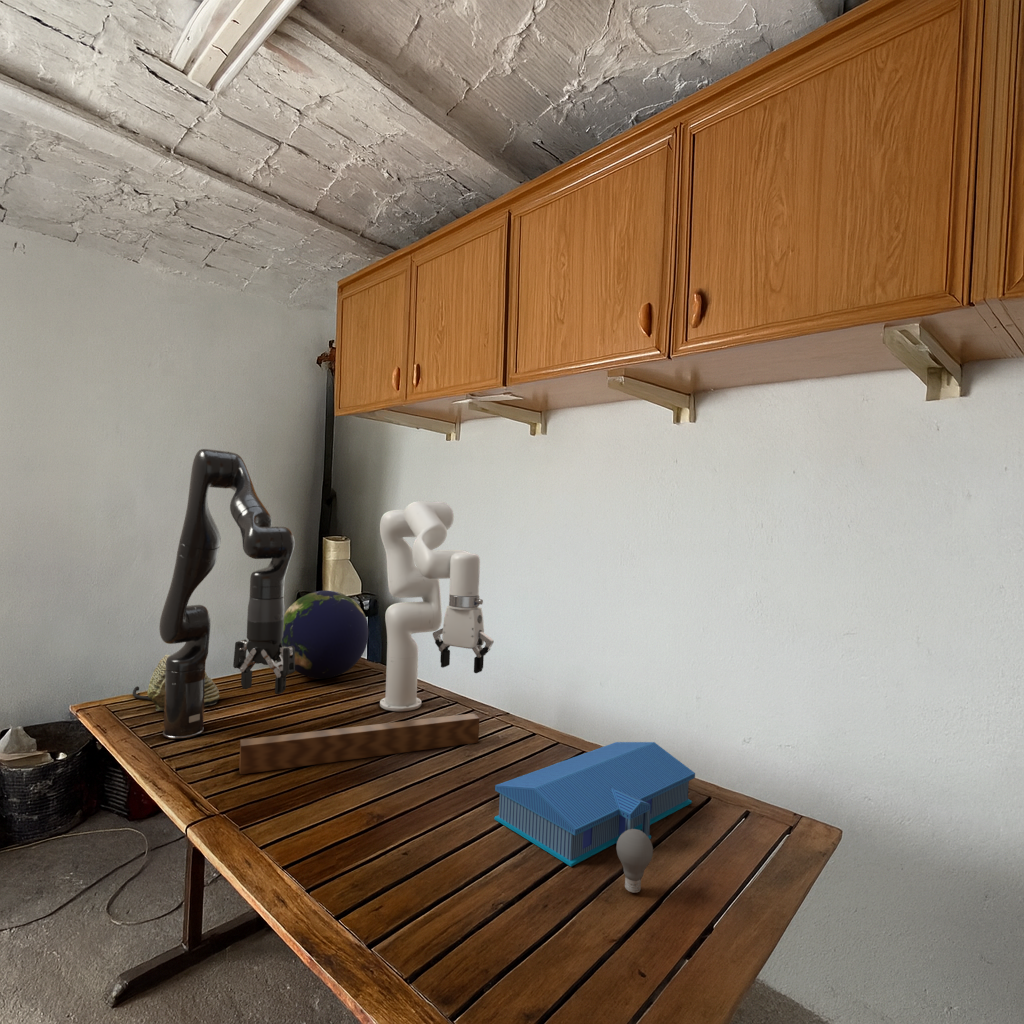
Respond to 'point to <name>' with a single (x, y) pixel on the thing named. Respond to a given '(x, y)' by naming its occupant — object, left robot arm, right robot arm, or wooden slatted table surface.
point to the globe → (325, 633)
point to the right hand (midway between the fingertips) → (461, 669)
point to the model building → (594, 798)
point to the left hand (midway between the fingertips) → (262, 690)
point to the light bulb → (634, 857)
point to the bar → (355, 742)
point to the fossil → (158, 687)
